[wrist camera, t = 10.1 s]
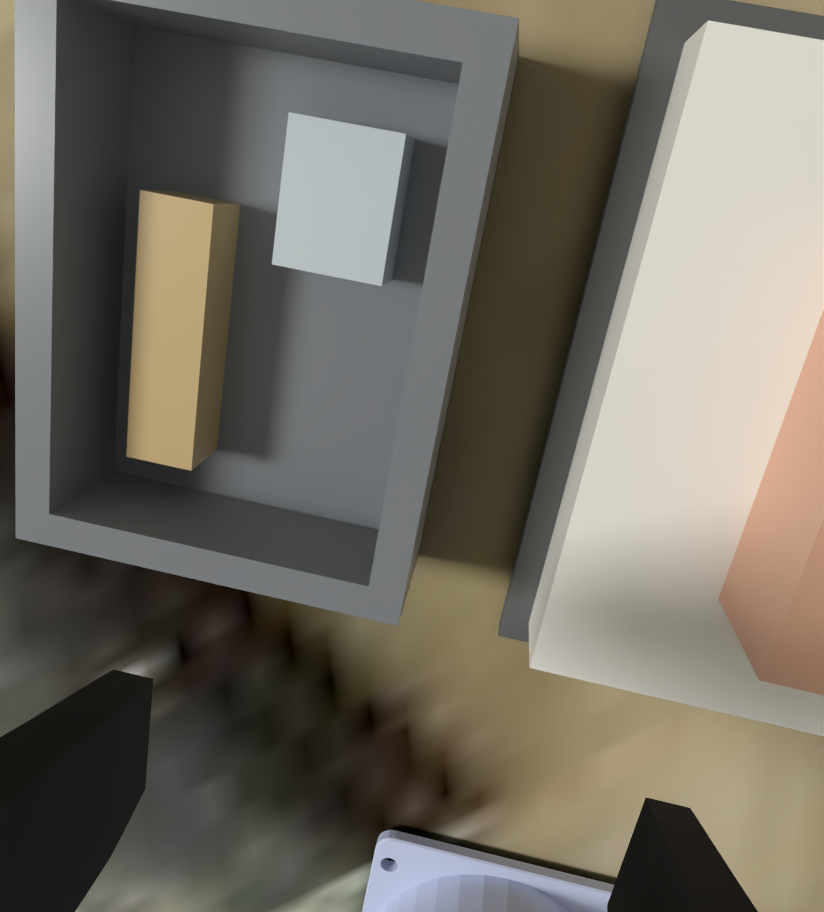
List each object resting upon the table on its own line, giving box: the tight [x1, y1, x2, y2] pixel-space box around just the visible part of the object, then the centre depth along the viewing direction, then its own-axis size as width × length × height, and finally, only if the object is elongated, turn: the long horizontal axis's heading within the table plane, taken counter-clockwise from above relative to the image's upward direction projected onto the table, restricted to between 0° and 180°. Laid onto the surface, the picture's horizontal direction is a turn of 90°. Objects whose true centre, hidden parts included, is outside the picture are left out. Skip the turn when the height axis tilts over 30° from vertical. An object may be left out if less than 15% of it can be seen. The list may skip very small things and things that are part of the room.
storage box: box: [15, 0, 519, 626], centre depth 17 cm, size 12×9×4 cm
